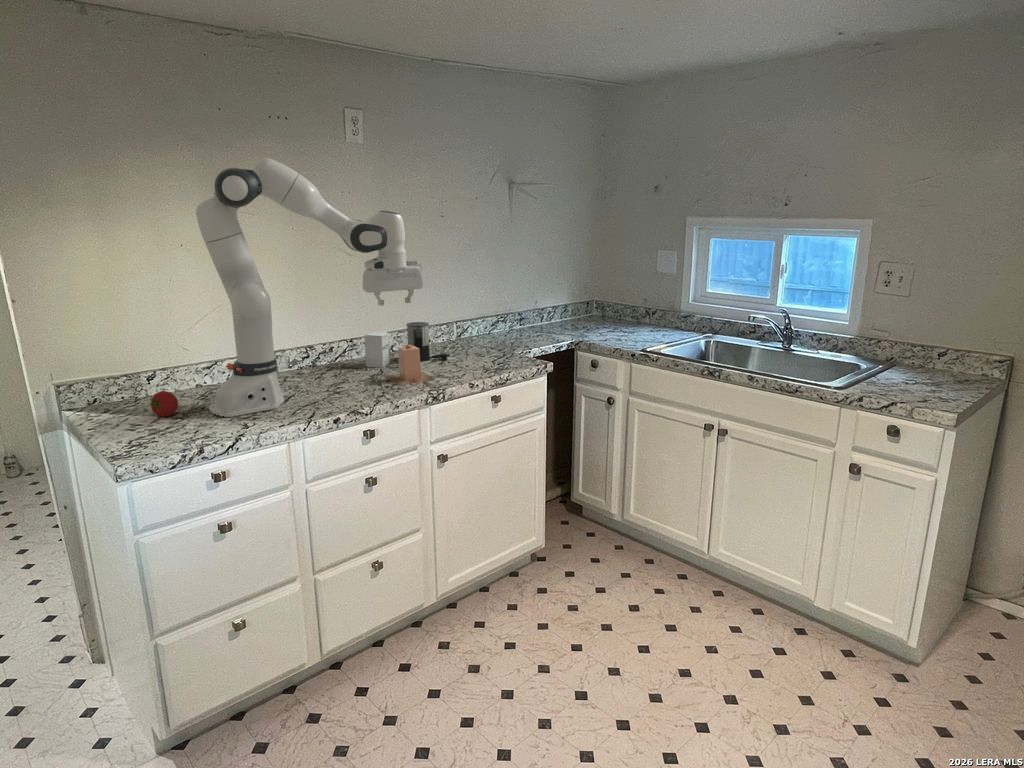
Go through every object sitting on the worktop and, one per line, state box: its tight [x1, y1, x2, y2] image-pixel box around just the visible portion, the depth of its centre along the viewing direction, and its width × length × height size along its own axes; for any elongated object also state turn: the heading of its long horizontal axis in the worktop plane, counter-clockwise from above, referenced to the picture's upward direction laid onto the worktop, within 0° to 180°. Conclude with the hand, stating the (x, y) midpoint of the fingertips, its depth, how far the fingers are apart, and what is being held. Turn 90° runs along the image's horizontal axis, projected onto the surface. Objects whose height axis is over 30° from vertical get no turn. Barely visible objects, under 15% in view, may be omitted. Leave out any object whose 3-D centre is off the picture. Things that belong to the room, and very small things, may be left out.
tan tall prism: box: [397, 344, 422, 381], centre depth 233 cm, size 6×6×12 cm
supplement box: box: [363, 331, 391, 368], centre depth 255 cm, size 7×7×13 cm
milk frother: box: [406, 321, 451, 362], centre depth 263 cm, size 14×16×15 cm
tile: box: [384, 371, 437, 386], centre depth 235 cm, size 14×14×1 cm
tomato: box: [149, 390, 179, 418], centre depth 196 cm, size 8×8×8 cm
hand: (394, 304), depth 217 cm, fingers open, 8 cm apart
